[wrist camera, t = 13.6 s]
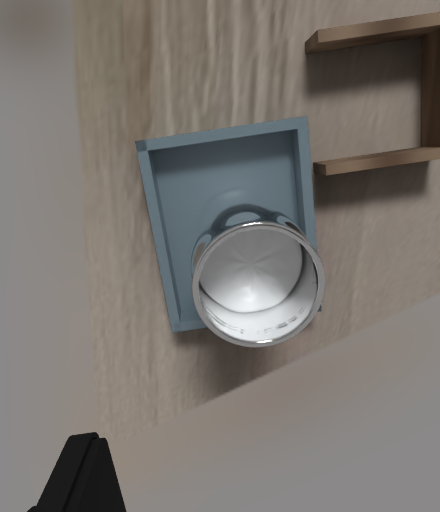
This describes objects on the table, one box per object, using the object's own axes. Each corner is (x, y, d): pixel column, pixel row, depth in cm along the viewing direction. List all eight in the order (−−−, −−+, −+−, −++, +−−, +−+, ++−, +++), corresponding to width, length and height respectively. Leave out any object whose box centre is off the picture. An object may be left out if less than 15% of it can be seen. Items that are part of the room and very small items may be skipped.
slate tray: (298, 118, 32) (307, 116, 29) (312, 297, 36) (321, 311, 33) (141, 141, 32) (135, 141, 29) (174, 317, 36) (172, 332, 33)
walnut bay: (432, 23, 30) (460, 9, 27) (430, 155, 33) (455, 156, 30) (305, 42, 30) (317, 30, 27) (314, 172, 33) (326, 175, 30)
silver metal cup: (197, 265, 34) (191, 354, 20) (193, 185, 32) (183, 220, 18) (275, 262, 34) (326, 348, 20) (276, 182, 32) (333, 214, 18)
